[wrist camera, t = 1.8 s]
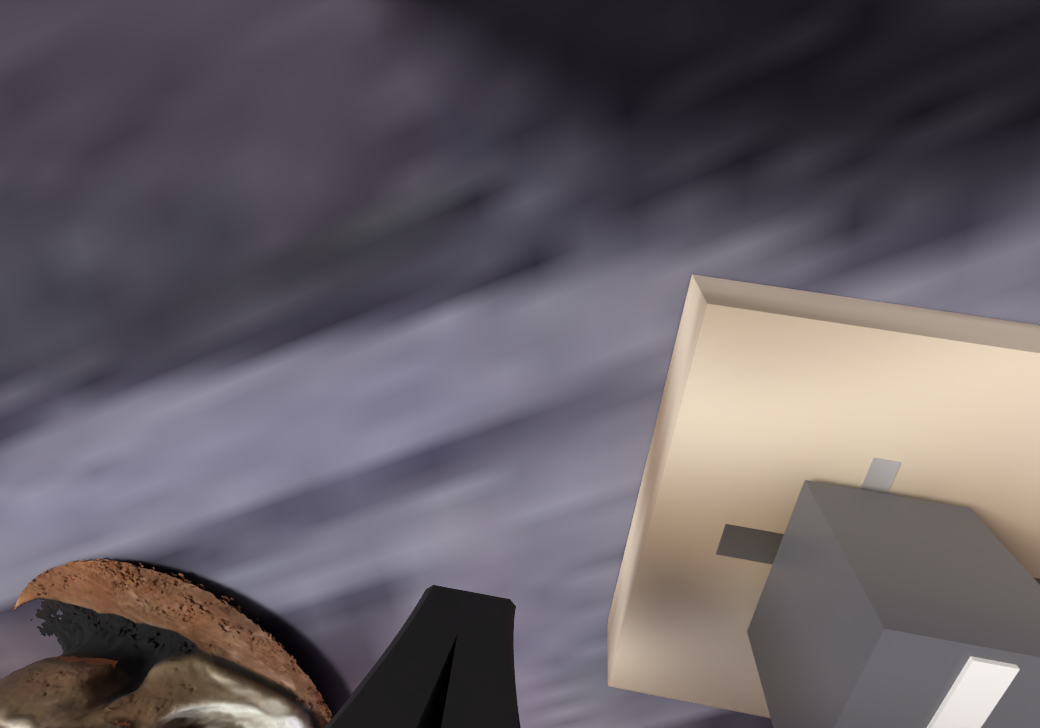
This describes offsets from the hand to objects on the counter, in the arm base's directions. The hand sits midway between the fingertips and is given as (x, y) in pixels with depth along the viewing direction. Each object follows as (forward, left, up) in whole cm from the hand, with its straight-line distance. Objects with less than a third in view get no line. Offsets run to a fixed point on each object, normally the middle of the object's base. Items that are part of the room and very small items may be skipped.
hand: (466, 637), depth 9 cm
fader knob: (0, -7, -3) cm, 8 cm away
